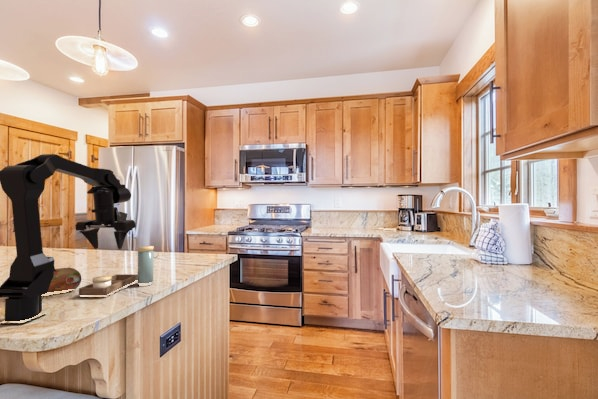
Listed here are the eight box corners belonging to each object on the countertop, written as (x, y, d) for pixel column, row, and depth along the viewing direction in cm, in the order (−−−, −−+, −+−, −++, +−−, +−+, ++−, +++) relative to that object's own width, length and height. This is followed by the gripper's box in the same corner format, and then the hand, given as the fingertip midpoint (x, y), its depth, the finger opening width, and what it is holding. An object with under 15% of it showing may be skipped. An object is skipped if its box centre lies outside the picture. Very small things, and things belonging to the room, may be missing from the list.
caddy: (105, 298, 88) (105, 288, 88) (78, 297, 88) (79, 288, 88) (138, 282, 106) (138, 274, 106) (116, 282, 106) (116, 274, 106)
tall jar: (148, 286, 100) (148, 247, 100) (134, 286, 100) (134, 247, 100) (156, 282, 105) (156, 245, 106) (142, 282, 105) (142, 245, 106)
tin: (19, 300, 86) (19, 273, 86) (20, 298, 88) (21, 271, 88) (81, 291, 95) (81, 266, 96) (80, 289, 98) (81, 265, 98)
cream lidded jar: (104, 296, 90) (104, 279, 90) (88, 296, 90) (88, 279, 90) (115, 291, 95) (115, 275, 95) (100, 291, 95) (100, 275, 95)
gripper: (144, 202, 105) (147, 243, 107) (98, 202, 107) (102, 242, 108) (122, 206, 94) (126, 251, 96) (71, 206, 96) (76, 250, 97)
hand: (108, 248), depth 100 cm, fingers open, 9 cm apart
